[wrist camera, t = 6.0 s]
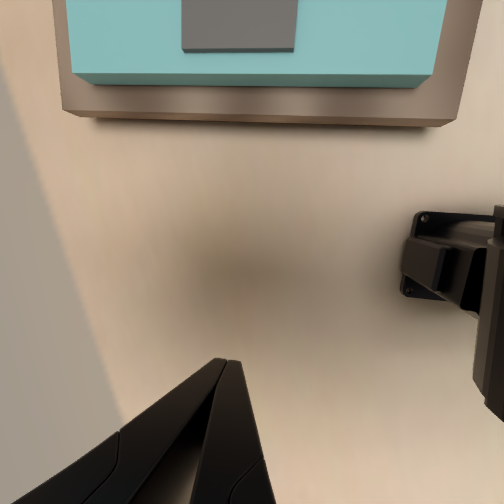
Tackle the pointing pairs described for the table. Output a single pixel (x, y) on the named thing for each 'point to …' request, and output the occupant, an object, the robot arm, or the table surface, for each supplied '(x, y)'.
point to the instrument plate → (255, 42)
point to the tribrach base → (285, 90)
